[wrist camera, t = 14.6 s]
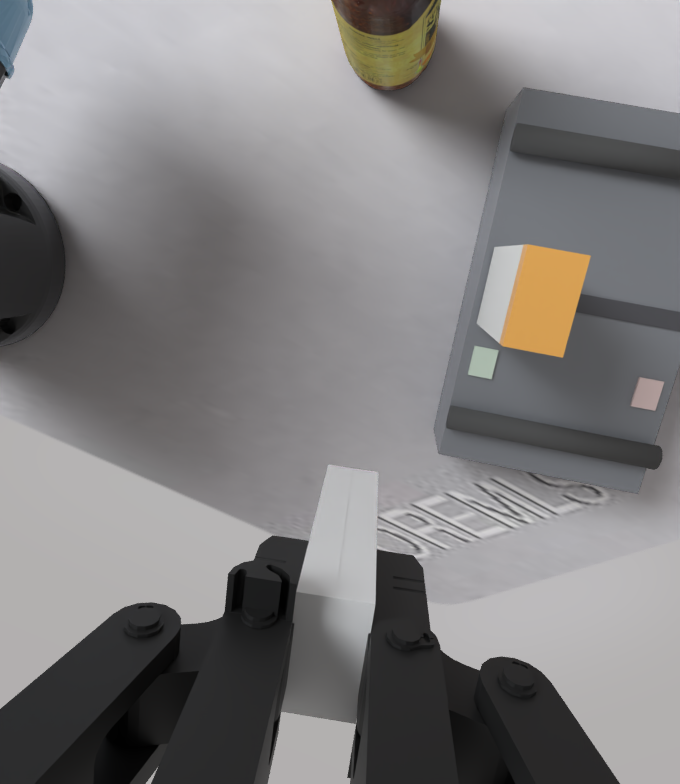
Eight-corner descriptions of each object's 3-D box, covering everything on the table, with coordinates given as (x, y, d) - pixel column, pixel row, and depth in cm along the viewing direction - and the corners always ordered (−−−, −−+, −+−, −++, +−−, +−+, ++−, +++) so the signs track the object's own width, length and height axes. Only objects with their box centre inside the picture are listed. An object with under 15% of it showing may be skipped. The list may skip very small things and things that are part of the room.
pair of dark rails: (445, 424, 41) (447, 431, 39) (514, 125, 36) (519, 120, 35) (647, 464, 40) (657, 473, 39) (744, 165, 36) (760, 160, 34)
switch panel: (433, 429, 47) (438, 454, 41) (506, 110, 42) (524, 86, 36) (607, 464, 47) (639, 494, 41) (706, 144, 41) (759, 125, 35)
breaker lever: (476, 323, 39) (502, 346, 29) (494, 247, 38) (527, 244, 28) (521, 332, 39) (562, 357, 29) (541, 255, 38) (591, 255, 28)
